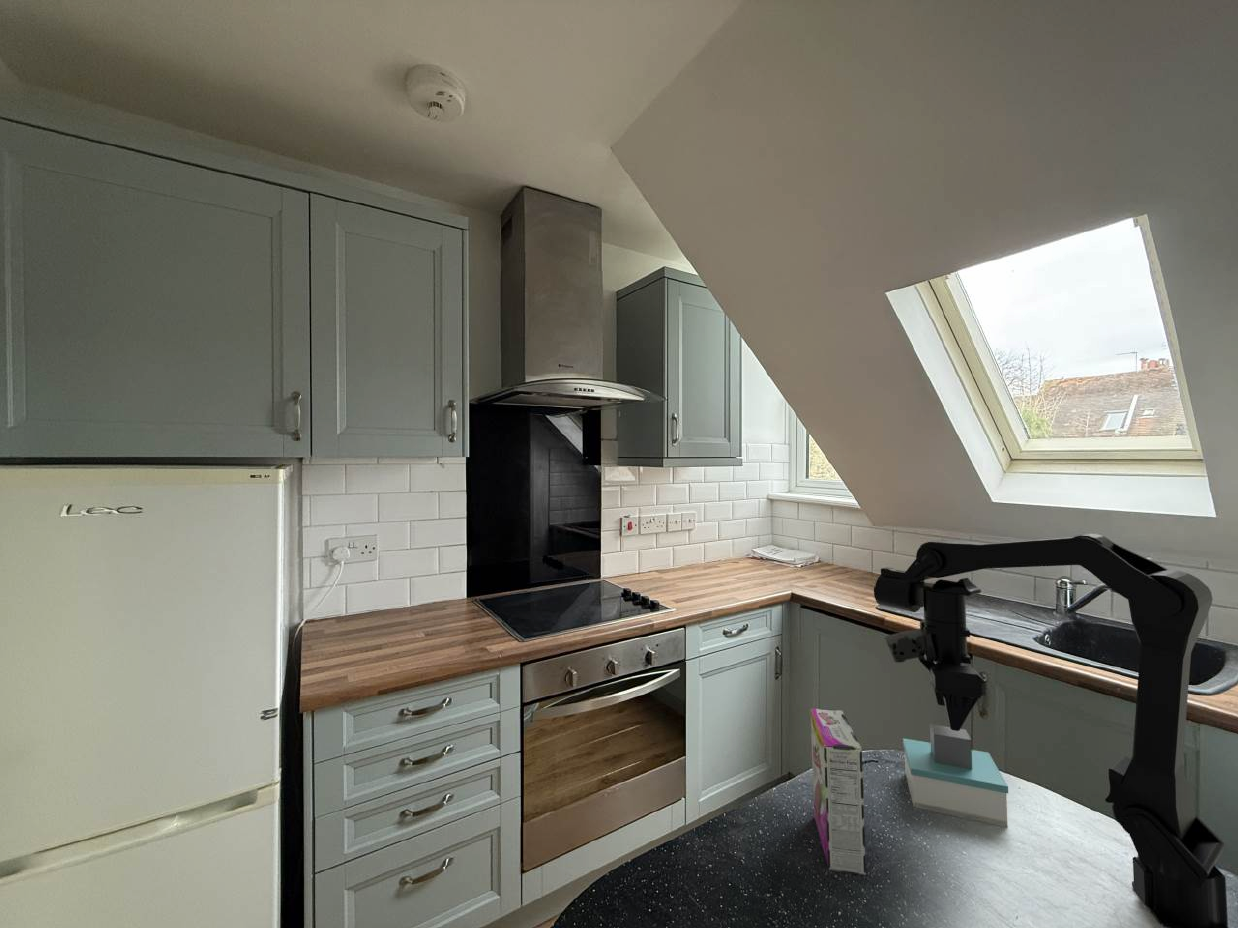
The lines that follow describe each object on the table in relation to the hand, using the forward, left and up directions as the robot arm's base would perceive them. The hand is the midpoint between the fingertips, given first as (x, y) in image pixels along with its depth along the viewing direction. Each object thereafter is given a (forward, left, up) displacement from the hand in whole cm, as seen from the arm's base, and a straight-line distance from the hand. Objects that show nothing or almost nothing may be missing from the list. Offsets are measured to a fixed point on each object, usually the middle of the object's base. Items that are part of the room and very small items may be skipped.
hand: (947, 716), depth 80 cm
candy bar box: (+17, +17, -13) cm, 28 cm away
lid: (0, -1, -9) cm, 9 cm away
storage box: (0, -1, -13) cm, 13 cm away
